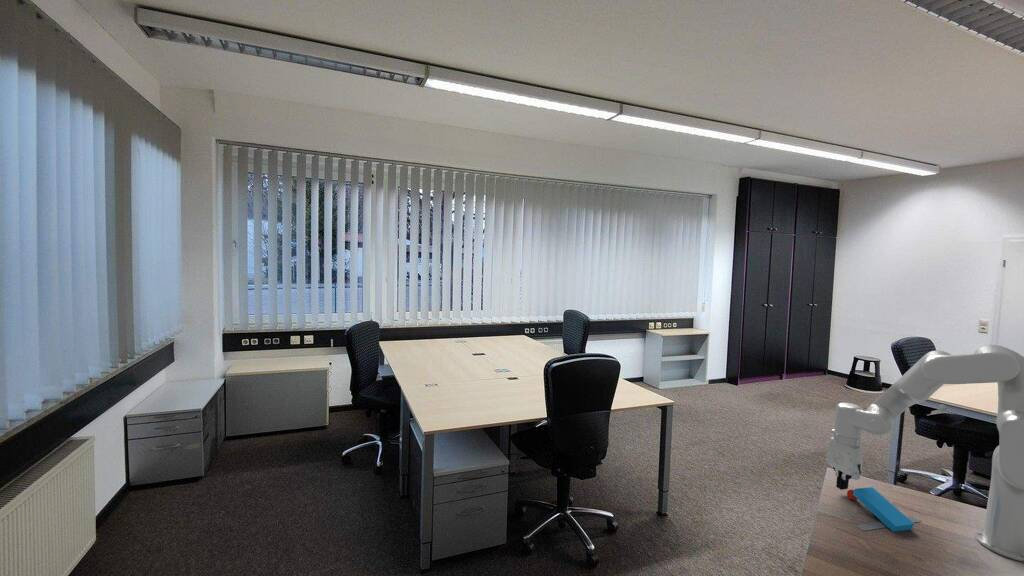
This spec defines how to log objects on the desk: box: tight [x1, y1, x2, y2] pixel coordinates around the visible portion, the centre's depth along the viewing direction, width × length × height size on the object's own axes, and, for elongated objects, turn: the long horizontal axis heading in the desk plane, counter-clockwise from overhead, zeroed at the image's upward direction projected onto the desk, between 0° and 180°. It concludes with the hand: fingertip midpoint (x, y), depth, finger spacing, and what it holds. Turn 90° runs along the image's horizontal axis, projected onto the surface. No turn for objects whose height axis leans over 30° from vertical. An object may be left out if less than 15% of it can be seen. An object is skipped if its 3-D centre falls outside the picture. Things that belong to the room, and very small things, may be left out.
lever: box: [846, 486, 915, 532], centre depth 142 cm, size 7×7×18 cm
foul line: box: [855, 516, 922, 532], centre depth 137 cm, size 23×2×1 cm, turn 102°
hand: (841, 487), depth 153 cm, fingers closed
